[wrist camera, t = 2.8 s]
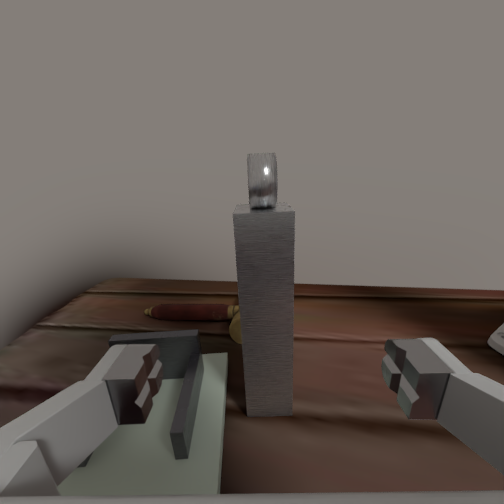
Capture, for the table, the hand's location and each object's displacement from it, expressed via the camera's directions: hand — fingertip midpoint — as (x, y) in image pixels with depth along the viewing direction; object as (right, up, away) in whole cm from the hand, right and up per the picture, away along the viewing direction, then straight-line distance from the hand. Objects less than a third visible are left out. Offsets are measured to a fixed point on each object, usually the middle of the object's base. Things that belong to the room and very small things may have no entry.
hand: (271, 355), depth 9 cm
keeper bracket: (-10, -13, +15) cm, 22 cm away
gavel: (-9, -8, +31) cm, 33 cm away
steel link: (+1, -12, +17) cm, 21 cm away
